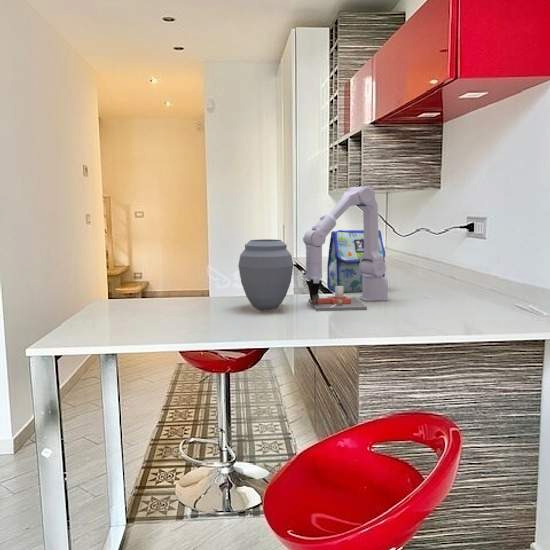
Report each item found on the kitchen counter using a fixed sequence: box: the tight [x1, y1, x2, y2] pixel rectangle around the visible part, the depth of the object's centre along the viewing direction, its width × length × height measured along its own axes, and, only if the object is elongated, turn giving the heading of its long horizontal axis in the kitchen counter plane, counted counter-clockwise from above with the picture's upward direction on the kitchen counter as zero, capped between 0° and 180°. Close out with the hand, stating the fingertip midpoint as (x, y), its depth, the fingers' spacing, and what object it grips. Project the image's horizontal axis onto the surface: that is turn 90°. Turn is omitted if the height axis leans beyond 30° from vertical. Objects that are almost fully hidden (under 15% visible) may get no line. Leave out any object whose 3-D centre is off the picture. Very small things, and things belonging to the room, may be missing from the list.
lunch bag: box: [326, 229, 386, 293], centre depth 229 cm, size 22×17×26 cm
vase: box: [238, 239, 294, 311], centre depth 190 cm, size 20×20×24 cm
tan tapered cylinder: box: [337, 300, 342, 306], centre depth 190 cm, size 2×2×2 cm
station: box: [308, 286, 368, 312], centre depth 196 cm, size 18×19×7 cm
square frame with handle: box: [312, 294, 351, 304], centre depth 195 cm, size 14×7×3 cm, turn 103°
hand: (313, 300), depth 196 cm, fingers closed, pressing on square frame with handle
